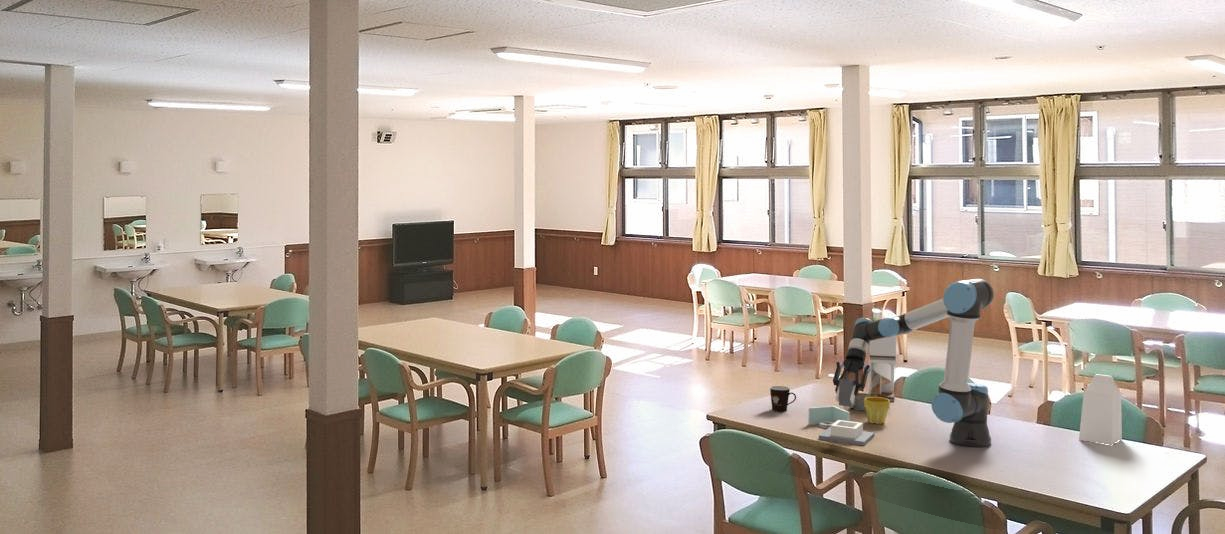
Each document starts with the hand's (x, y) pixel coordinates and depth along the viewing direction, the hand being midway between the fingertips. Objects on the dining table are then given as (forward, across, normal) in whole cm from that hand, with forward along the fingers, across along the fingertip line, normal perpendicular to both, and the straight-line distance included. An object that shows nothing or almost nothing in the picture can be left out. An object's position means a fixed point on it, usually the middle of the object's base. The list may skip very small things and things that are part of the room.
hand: (844, 400), depth 372 cm
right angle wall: (0, +11, -23) cm, 26 cm away
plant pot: (-13, -4, -35) cm, 38 cm away
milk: (-24, -88, -46) cm, 102 cm away
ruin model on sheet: (-25, +6, -48) cm, 55 cm away
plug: (0, 0, -5) cm, 5 cm away
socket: (+9, 0, -14) cm, 16 cm away
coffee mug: (-11, +37, -34) cm, 52 cm away
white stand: (-44, +5, -67) cm, 80 cm away
